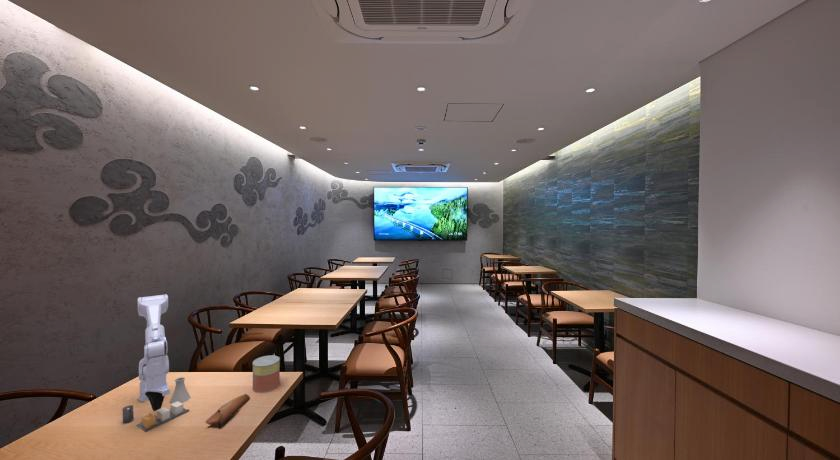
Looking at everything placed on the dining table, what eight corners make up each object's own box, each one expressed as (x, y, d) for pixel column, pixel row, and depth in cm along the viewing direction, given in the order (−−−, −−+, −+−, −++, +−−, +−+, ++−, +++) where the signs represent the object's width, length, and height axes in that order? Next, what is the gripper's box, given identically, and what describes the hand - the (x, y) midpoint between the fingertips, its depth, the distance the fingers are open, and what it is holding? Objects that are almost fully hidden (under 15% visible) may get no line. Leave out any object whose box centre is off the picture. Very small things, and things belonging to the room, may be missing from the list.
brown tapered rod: (230, 400, 135) (238, 387, 134) (244, 409, 134) (252, 396, 134) (198, 427, 117) (207, 412, 116) (214, 438, 116) (223, 423, 116)
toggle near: (170, 411, 124) (170, 404, 124) (177, 408, 127) (177, 401, 126) (175, 414, 123) (175, 407, 122) (183, 411, 125) (183, 403, 125)
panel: (135, 427, 116) (135, 423, 116) (178, 408, 129) (178, 404, 129) (146, 434, 113) (145, 430, 112) (189, 413, 125) (189, 409, 125)
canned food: (283, 379, 152) (283, 355, 152) (273, 392, 141) (273, 365, 140) (259, 380, 151) (259, 355, 151) (247, 393, 140) (247, 366, 140)
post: (117, 424, 118) (117, 409, 118) (132, 418, 122) (132, 403, 122) (123, 428, 116) (123, 412, 116) (138, 421, 120) (138, 406, 119)
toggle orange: (142, 425, 116) (141, 416, 116) (150, 421, 119) (150, 413, 118) (147, 428, 115) (147, 420, 114) (155, 424, 117) (155, 416, 117)
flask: (179, 408, 128) (178, 384, 128) (164, 406, 130) (164, 382, 130) (195, 398, 136) (195, 375, 135) (181, 396, 137) (180, 373, 137)
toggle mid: (156, 418, 120) (156, 410, 120) (164, 414, 123) (164, 407, 122) (162, 421, 119) (162, 413, 118) (169, 417, 121) (169, 410, 121)
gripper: (133, 373, 118) (134, 409, 118) (153, 383, 111) (153, 421, 112) (156, 365, 124) (156, 400, 125) (176, 374, 118) (176, 410, 118)
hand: (156, 409), depth 119 cm, fingers closed
